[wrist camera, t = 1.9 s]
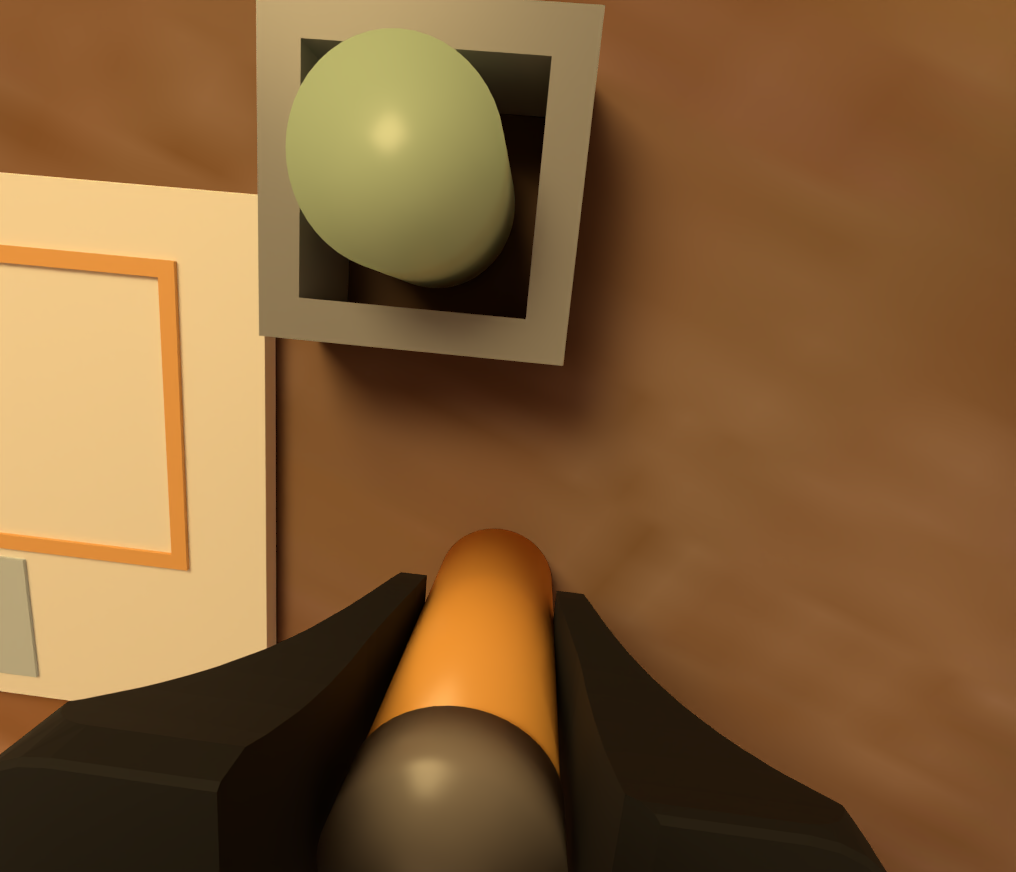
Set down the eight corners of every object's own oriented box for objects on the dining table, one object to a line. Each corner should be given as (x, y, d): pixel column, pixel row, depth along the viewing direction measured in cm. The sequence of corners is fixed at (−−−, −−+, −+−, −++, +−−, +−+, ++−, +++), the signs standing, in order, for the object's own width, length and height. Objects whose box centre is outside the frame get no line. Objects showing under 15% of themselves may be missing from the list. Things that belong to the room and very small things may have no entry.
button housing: (558, 359, 12) (562, 366, 10) (315, 335, 12) (259, 335, 10) (591, 79, 11) (605, 5, 8) (318, 59, 11) (255, -19, 9)
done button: (507, 295, 11) (494, 280, 8) (353, 280, 11) (285, 262, 8) (522, 121, 10) (515, 36, 7) (358, 109, 10) (285, 20, 7)
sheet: (276, 714, 15) (265, 729, 14) (-110, 662, 15) (-135, 675, 15) (275, 200, 12) (260, 193, 11) (-202, 159, 12) (-239, 151, 12)
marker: (547, 640, 14) (552, 990, 6) (434, 626, 14) (314, 953, 6) (560, 534, 13) (583, 788, 6) (442, 520, 13) (318, 752, 6)
